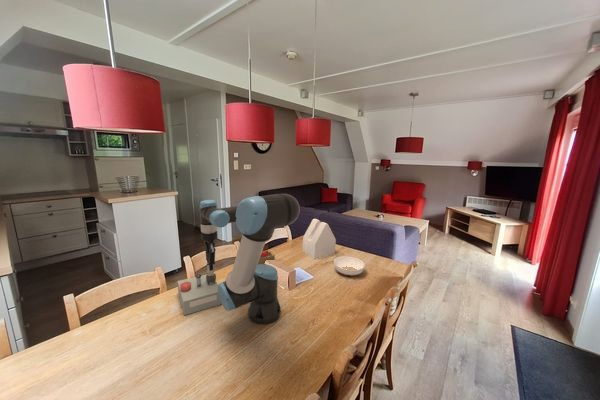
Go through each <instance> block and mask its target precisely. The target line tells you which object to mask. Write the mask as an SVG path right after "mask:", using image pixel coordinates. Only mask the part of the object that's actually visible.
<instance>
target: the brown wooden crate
mask: <svg viewBox="0 0 600 400" xmlns="http://www.w3.org/2000/svg"><path fill="white" fill-rule="evenodd" d="M262 252H266V253H267V254H268V256H266V257H265V256H262V258H260V259H259V262H258V265H259V264H264V263H265V261H266V260H275V258H276V257H275V256H276V255H275V254H274V253H272V252H271V250H269V249H267V250H263V251H262Z"/></svg>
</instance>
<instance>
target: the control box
mask: <svg viewBox="0 0 600 400" xmlns="http://www.w3.org/2000/svg"><path fill="white" fill-rule="evenodd" d="M207 274H208V273H206V274H203V275H202V274H201V286H200V287H197V281H196V276H195V277H194V276H193V277H190V278H186V279H181V280H177V291H178V292H177V293H178V297H179V301H180V305H181V308H182V312H183V315H184V316H187V315H190V314H193V313H196V312H199V311H200V312H201V311H203V310H206V309H209V308H213V307H216V306H220V305H222V303H221V301H220V298H219V294H218V284H219V283H218V282H217V280H216V281H214V284H211V285H209V282H206V275H207ZM184 282H190V283H191V290H189V291H187V292H182V291H180V284H182V283H184Z"/></svg>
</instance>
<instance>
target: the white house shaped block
mask: <svg viewBox="0 0 600 400" xmlns="http://www.w3.org/2000/svg"><path fill="white" fill-rule="evenodd" d="M336 245H337V239H336V237H335V235H334V233H333V232H332V229H331V228H330V226H329V224H328V223H327V222H324V221H321V220H319V219H318V218H313V219H312V220H311V222H310V224H309V226H308V227H307V229H306V231H305V233H304V235H303V236H302V252H303V253H304V252H305V253H304V254H306V255H307V254H308V255H307V256H309V257H310V256H311V257H310V258H312V259H313V258H314V260H317V259H320V258H319V257H321V258H324V257H323V256H325V257H327V256H326V255H329V256H331V255H330V254H333V255H335V254H336ZM334 253H335V254H334ZM316 258H317V259H316Z"/></svg>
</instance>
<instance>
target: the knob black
mask: <svg viewBox="0 0 600 400" xmlns="http://www.w3.org/2000/svg"><path fill="white" fill-rule="evenodd" d="M206 274H207V275H206ZM206 274H205V275H206V282H209V285H211V284H214V281H216V282H217V274H216V273H214V275H212V276H208V273H206Z"/></svg>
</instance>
